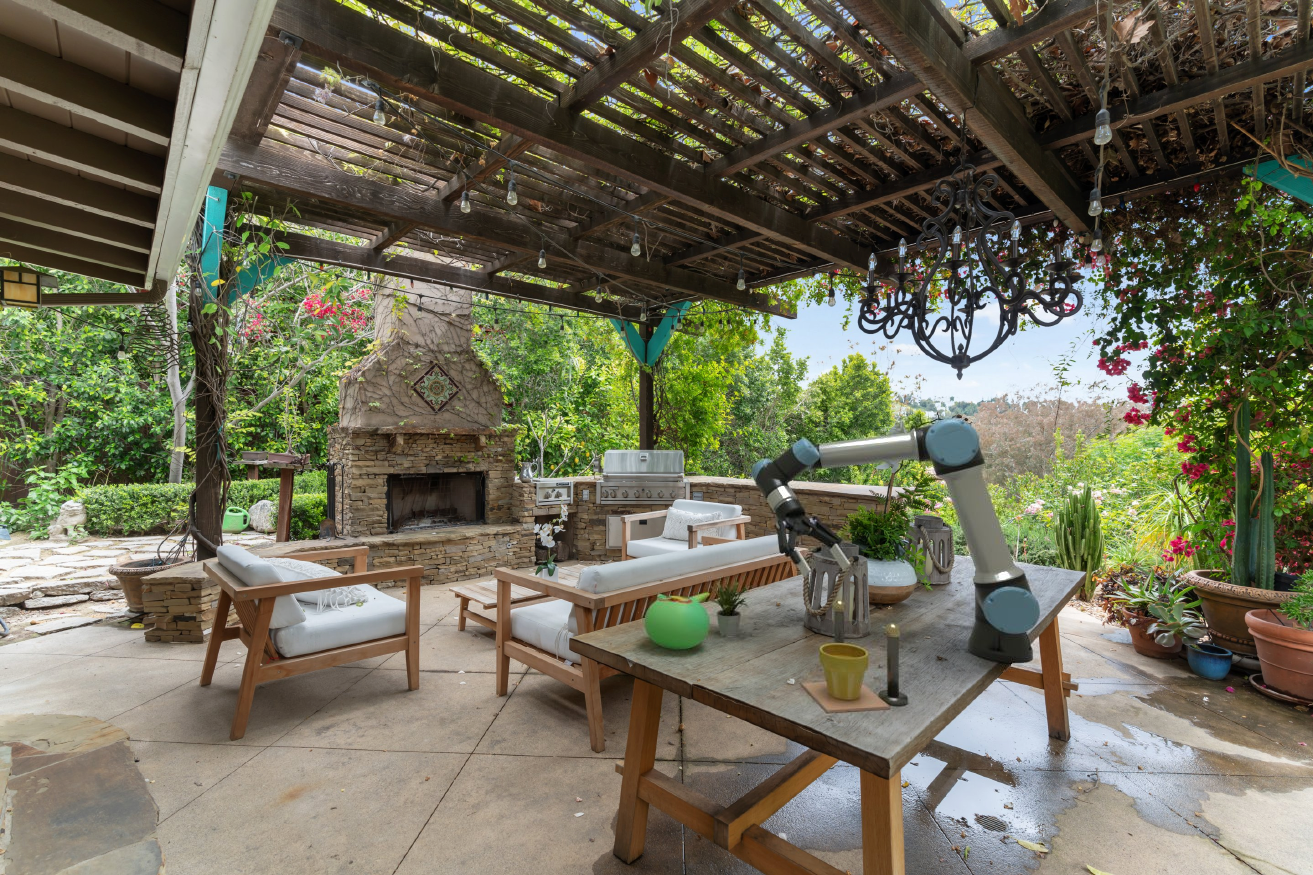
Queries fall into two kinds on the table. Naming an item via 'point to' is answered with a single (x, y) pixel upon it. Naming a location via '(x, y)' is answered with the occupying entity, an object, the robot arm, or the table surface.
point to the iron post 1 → (839, 621)
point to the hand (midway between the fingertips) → (827, 570)
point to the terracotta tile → (833, 704)
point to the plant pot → (843, 669)
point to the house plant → (729, 609)
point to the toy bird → (677, 621)
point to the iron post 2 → (893, 669)
